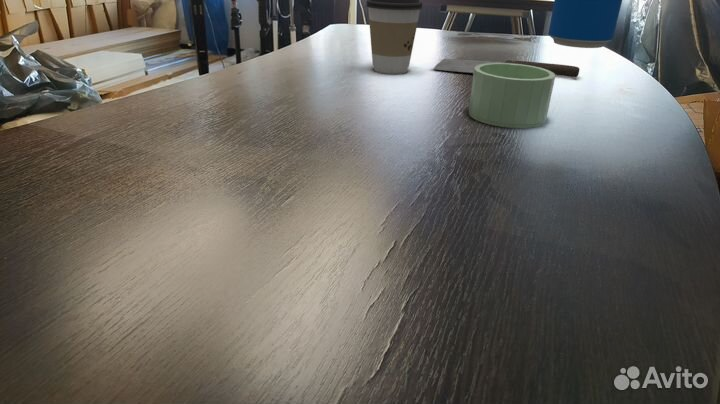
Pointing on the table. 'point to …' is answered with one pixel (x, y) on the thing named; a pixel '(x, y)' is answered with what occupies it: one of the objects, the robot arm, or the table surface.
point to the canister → (511, 95)
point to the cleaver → (469, 65)
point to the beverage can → (584, 22)
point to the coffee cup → (392, 33)
